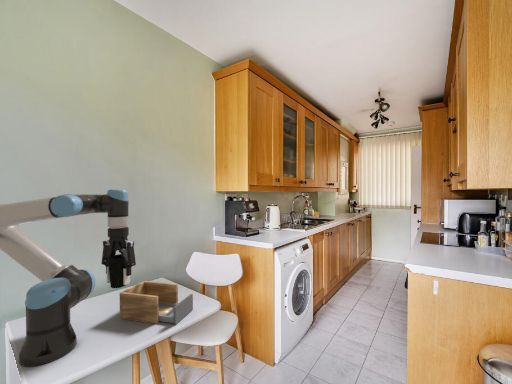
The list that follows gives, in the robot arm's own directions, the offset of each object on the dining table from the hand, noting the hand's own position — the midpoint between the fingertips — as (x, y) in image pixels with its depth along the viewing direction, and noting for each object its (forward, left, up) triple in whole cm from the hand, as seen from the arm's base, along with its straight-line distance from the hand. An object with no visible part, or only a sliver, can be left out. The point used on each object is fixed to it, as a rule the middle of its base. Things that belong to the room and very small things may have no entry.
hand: (118, 282), depth 99 cm
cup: (0, 0, -1) cm, 1 cm away
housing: (+13, -4, -18) cm, 22 cm away
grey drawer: (+13, -13, -18) cm, 26 cm away
